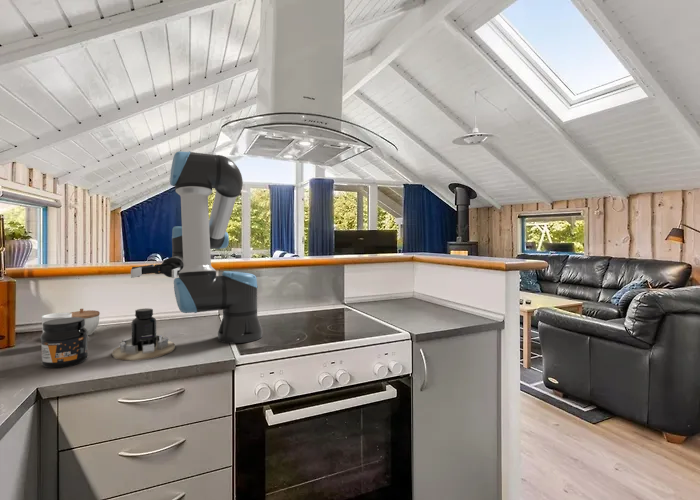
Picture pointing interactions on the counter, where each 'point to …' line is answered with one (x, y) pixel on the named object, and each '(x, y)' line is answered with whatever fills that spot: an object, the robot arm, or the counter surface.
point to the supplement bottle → (143, 328)
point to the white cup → (55, 317)
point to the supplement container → (64, 342)
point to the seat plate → (141, 356)
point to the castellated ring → (143, 346)
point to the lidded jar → (88, 319)
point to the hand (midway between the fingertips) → (152, 273)
